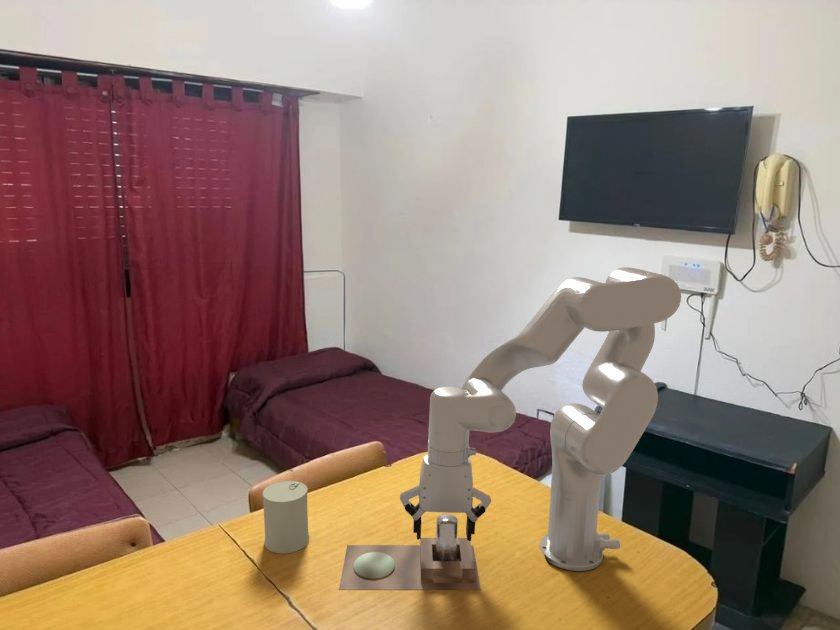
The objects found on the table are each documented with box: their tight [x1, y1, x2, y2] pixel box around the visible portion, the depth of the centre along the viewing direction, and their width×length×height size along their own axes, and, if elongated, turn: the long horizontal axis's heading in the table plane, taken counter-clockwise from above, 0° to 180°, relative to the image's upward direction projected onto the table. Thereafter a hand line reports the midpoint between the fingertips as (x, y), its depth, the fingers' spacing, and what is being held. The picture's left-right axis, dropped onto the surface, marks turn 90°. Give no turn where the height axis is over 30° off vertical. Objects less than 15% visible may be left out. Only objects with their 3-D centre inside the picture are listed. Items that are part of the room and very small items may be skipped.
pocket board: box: [338, 537, 481, 591], centre depth 116 cm, size 26×14×4 cm, turn 91°
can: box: [261, 480, 310, 555], centre depth 125 cm, size 9×9×12 cm
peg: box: [435, 513, 459, 561], centre depth 116 cm, size 4×4×10 cm
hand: (443, 536), depth 115 cm, fingers open, 9 cm apart
